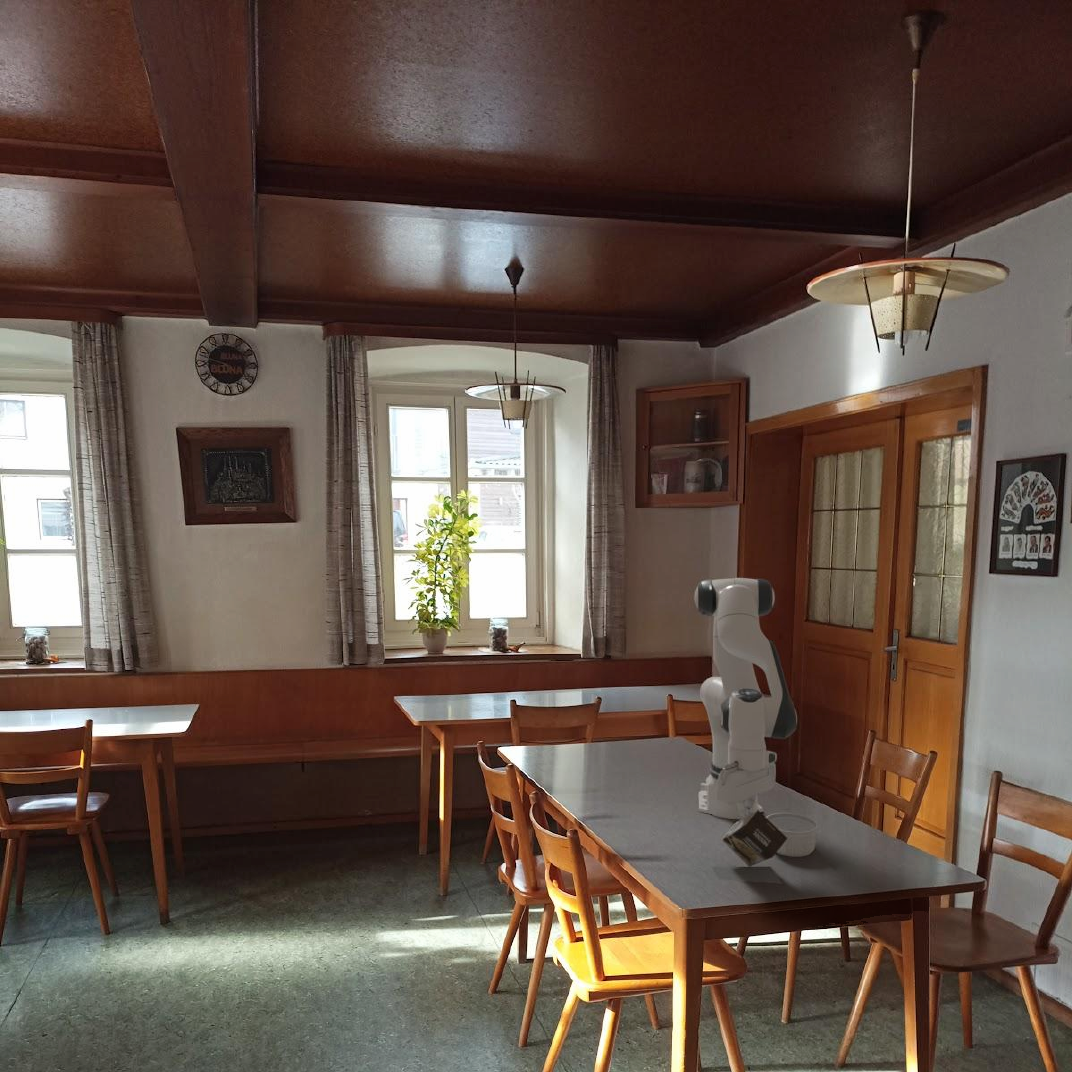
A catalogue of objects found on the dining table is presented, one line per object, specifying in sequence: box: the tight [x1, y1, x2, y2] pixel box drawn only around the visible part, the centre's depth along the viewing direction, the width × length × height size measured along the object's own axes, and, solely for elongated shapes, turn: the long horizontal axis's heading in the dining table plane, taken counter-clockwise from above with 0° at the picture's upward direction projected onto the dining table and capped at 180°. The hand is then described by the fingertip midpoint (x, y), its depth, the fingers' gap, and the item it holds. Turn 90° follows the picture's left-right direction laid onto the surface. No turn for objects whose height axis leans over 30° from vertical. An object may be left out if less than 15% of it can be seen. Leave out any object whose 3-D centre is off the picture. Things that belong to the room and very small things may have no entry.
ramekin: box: [765, 812, 819, 858], centre depth 219 cm, size 13×13×7 cm
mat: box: [712, 866, 783, 885], centre depth 202 cm, size 10×14×1 cm
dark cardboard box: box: [721, 810, 787, 867], centre depth 204 cm, size 9×6×16 cm
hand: (745, 814), depth 207 cm, fingers closed
